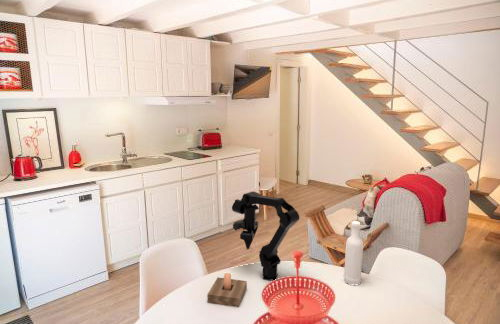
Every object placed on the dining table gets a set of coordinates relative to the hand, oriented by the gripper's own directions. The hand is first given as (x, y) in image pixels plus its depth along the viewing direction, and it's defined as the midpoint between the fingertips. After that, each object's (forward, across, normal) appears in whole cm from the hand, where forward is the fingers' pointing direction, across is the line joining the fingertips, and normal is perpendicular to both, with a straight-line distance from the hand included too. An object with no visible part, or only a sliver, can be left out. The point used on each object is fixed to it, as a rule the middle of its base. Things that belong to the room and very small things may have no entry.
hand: (249, 245), depth 171 cm
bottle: (+12, +4, +51) cm, 53 cm away
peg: (+12, +27, -5) cm, 30 cm away
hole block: (+12, +27, -5) cm, 30 cm away
